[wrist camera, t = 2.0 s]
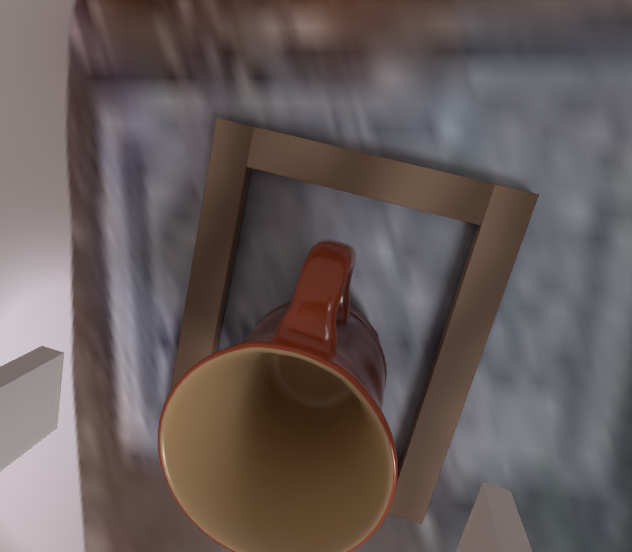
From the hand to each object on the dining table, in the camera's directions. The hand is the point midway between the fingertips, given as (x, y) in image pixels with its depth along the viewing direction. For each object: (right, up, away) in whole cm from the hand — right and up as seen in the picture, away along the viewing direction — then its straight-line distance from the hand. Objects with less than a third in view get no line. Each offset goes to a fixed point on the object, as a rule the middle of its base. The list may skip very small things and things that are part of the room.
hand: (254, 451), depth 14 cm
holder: (+3, +2, +12) cm, 12 cm away
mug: (+3, +2, +12) cm, 13 cm away
